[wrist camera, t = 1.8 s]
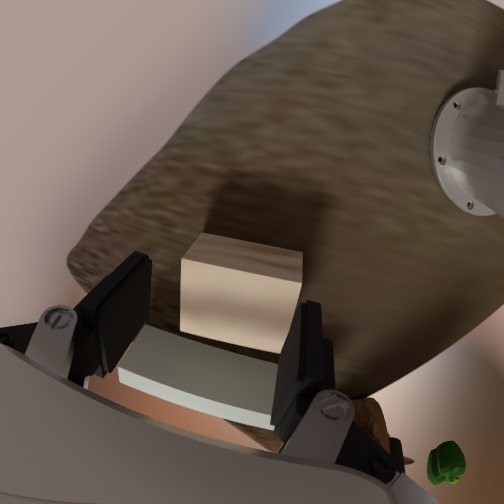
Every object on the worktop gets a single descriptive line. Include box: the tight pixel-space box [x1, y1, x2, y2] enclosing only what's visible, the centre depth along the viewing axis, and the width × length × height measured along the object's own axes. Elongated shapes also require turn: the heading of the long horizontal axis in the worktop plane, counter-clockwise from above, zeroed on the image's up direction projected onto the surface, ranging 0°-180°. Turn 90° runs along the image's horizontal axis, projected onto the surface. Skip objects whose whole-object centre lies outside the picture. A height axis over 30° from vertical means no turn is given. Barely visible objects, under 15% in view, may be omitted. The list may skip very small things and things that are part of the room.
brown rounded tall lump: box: [351, 397, 390, 454], centre depth 30 cm, size 11×8×20 cm
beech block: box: [180, 233, 303, 353], centre depth 29 cm, size 8×10×6 cm
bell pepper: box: [427, 441, 466, 485], centre depth 38 cm, size 8×8×10 cm
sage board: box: [118, 325, 278, 430], centre depth 33 cm, size 3×22×8 cm, turn 77°
